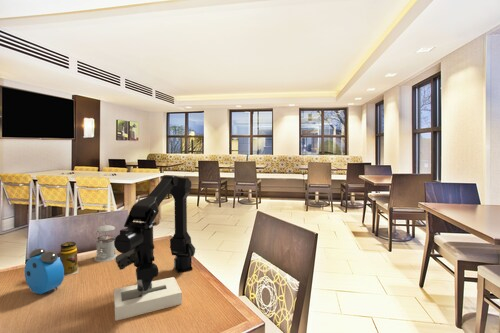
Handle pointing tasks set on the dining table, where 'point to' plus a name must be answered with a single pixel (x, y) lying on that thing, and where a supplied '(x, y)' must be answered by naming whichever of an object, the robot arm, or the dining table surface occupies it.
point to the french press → (105, 243)
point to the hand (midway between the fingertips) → (144, 287)
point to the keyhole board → (146, 298)
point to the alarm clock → (43, 271)
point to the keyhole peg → (140, 287)
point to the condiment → (69, 258)
